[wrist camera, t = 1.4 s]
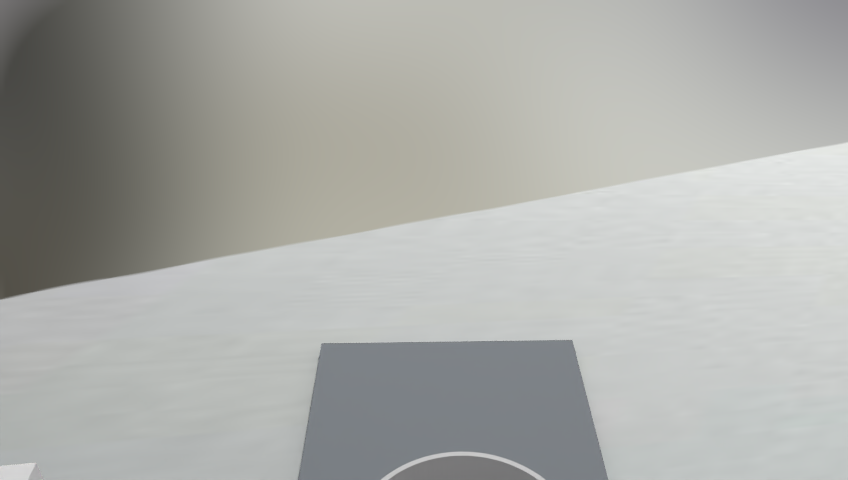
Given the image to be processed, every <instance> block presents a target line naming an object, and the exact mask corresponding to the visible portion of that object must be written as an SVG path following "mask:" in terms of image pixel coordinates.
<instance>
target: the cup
mask: <svg viewBox="0 0 848 480" xmlns="http://www.w3.org/2000/svg"><path fill="white" fill-rule="evenodd" d="M381 480H545V479H544V478H543V477H541V476H540V475H538V474H537V473H535V472H534V471H532V470H530V469H528V468H527V467H525V466H523V465H521V464H518V463H516V462H514V461H511V460H508V459H505V458H502V457H499V456H495V455H490V454H485V453H478V452H447V453H440V454H434V455H430V456H426V457H423V458H419V459H416V460H414V461H411V462H409V463H407V464H405V465H403V466H401V467H399V468H397V469H395V470H394V471H392V472H391V473H389V474H388V475H386V476H385V477H384V478H382V479H381Z"/></svg>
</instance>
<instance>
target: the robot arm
mask: <svg viewBox="0 0 848 480" xmlns="http://www.w3.org/2000/svg"><path fill="white" fill-rule="evenodd" d="M0 480H44V479H43V477H42V474H41V472H40V470H39V468H38V465H37V463H27V464H16V465H5V466H0Z"/></svg>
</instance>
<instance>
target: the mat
mask: <svg viewBox="0 0 848 480" xmlns="http://www.w3.org/2000/svg"><path fill="white" fill-rule="evenodd" d="M447 452H478V453H485V454H490V455H495V456H499V457H502V458H505V459H508V460H511V461H514V462H516V463H518V464H521V465H523V466H525V467H527V468H528V469H530V470H532V471H534V472H535V473H537V474H538V475H540V476H541V477H543V478H544V479H545V480H608V477H607V473H606V470H605V466H604V462H603V458H602V454H601V450H600V446H599V442H598V439H597V435H596V431H595V427H594V423H593V419H592V415H591V411H590V407H589V404H588V400H587V396H586V392H585V388H584V384H583V380H582V376H581V373H580V369H579V365H578V361H577V357H576V353H575V349H574V345H573V342H572V340H547V341H472V342H398V343H323V344H321V350H320V356H319V362H318V368H317V374H316V380H315V386H314V391H313V397H312V403H311V409H310V415H309V421H308V427H307V432H306V438H305V444H304V450H303V456H302V462H301V468H300V474H299V479H298V480H381V479H382V478H384V477H385V476H386V475H388V474H389V473H391V472H392V471H394V470H395V469H397V468H399V467H401V466H403V465H405V464H407V463H409V462H411V461H414V460H416V459H419V458H423V457H426V456H430V455H434V454H440V453H447Z"/></svg>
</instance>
